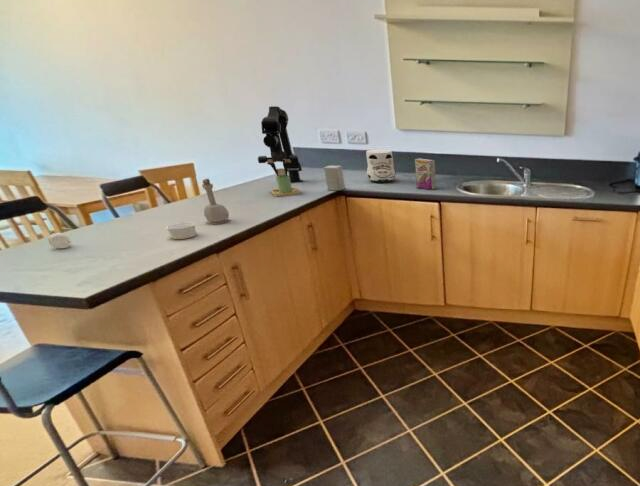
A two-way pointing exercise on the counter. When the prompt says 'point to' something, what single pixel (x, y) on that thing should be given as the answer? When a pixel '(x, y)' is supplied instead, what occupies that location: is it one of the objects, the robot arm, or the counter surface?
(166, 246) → the counter surface
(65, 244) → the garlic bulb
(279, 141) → the robot arm
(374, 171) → the cream face block
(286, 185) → the bottle
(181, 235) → the ramekin
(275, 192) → the tray
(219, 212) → the potion bottle
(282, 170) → the cap
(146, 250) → the counter surface
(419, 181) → the candy bar box
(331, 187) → the white packaging box
